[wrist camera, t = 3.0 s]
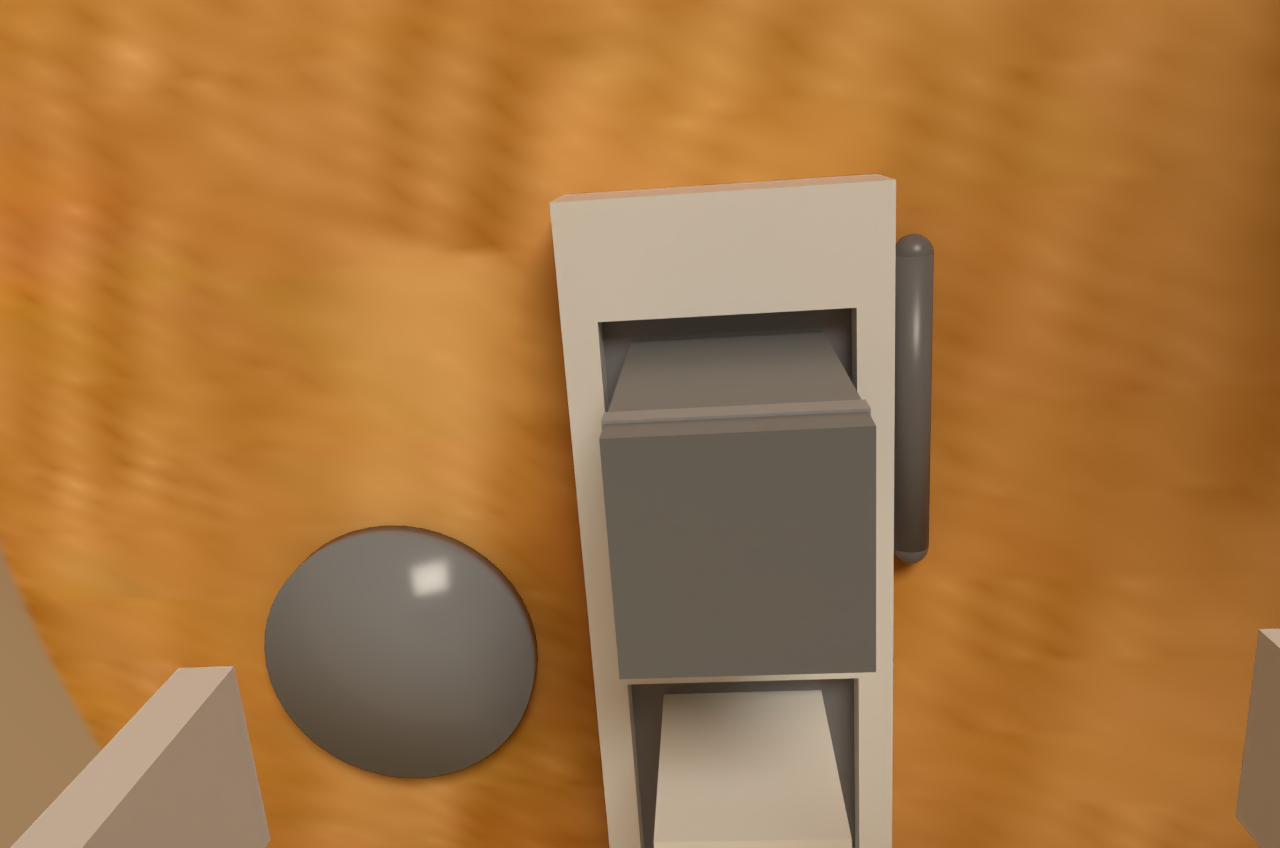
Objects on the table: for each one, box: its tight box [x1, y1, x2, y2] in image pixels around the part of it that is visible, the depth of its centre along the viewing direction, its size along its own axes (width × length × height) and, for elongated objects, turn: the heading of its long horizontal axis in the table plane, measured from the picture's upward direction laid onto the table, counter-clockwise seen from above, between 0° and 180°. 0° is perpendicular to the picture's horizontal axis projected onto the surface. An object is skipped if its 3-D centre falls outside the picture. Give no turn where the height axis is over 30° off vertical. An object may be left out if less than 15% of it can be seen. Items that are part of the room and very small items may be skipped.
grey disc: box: [264, 526, 538, 778], centre depth 30 cm, size 8×8×1 cm
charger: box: [599, 330, 876, 679], centre depth 22 cm, size 5×5×8 cm
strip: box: [550, 174, 934, 848], centre depth 27 cm, size 22×9×3 cm, turn 4°
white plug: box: [653, 690, 852, 848], centre depth 26 cm, size 4×4×6 cm
